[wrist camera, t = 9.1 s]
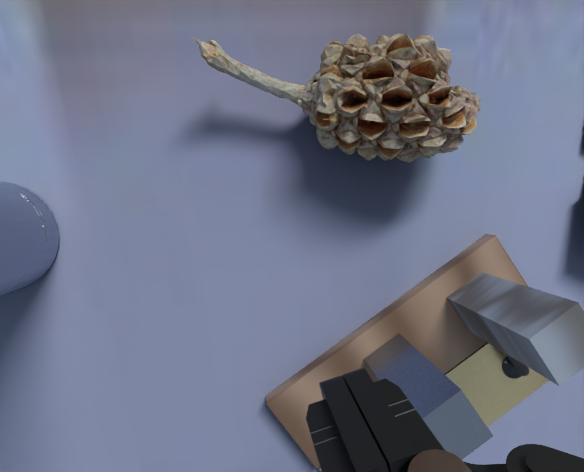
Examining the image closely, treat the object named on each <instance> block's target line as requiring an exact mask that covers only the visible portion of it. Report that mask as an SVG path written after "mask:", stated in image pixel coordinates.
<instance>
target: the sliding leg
mask: <svg viewBox="0 0 584 472" xmlns="http://www.w3.org/2000/svg"><path fill="white" fill-rule="evenodd" d="M364 360H365V361H366V363H367V364H368V366H369V367H370V368H371V370H372V371H373V373H374V374H375V376H376V377H377V378H378V380H382V379H385V378H386V379H387V380H389V381H391V382H392V383H394V384H396V385H398V386H399V387H400V389H401V390H402V391H403V393H404V394H405V396H406V397H407V399H408V400H409V401H410V402H411V404H412V405H413V407H414V408H415V410H416V411H417V412H418V414H419V415H420V416H421V418H422V419H423V420H424V422H425V423H426V425H427V426H428V427H429V429H430V430H431V432H432V433H433V434H434V436H435V437H436V439H437V440H438V441H439V443H440V444H441V445H442V447H443V448H444V449H445V450H446V451H448V452H451V453H453V454H454V455H456V456H458V457H459V458H460V459H461V460H462V459H463V458H465V457H466V456H467V455H469V454H470V453H471V452H473V451H474V450H475V449H477V448H478V447H479V446H481V445H482V444H483V443H485V442H486V441H487V440H489V439H490V438H491V437H493V435H492V433H491V432H490V430H489V429H488V428H487V426H486V425H485V423H484V422H483V420H482V419H481V417H480V416H479V415H478V413H477V412H476V410H475V409H474V407H473V406H472V404H471V403H470V402H469V400H468V399H467V397H466V396H465V394H464V393H463V391H462V390H461V389H460V388H459V387H458V386H457V385H456V384H454V383H453V382H452V381H451V380H450V379H449V378H448V377H447V376H446V375H445V374H444V373H442V372H441V371H440V370H439V369H438V368H437V367H436V366H435V365H434V364H433V363H431V362H430V361H429V360H428V359H427V358H426V357H425V356H424V355H423V354H422V353H420V352H419V351H418V350H417V349H416V348H415V347H414V346H413V345H412V344H411V343H409V342H408V341H407V340H406V339H405V338H404V337H403V336H402V335H401V334H400V333H398V334H397V335H396V336H394V337H393V338H392V339H390V340H389V341H388V342H386V343H385V344H384V345H382V346H381V347H379V348H378V349H377V350H375V351H374V352H373V353H371V354H370V355H369V356H367V357H366V358H365V359H364Z"/></svg>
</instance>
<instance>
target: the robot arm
mask: <svg viewBox="0 0 584 472" xmlns="http://www.w3.org/2000/svg"><path fill="white" fill-rule="evenodd" d="M58 244H59V234H58V228H57V224H56V221H55V219H54V217H53V214H52V213H51V211H50V210H49V208H48V207H47V205H46V204H45V203H44V202H43V201H42V200H41V199H40V198H39V197H38V196H37V195H35V194H34V193H32V192H30V191H29V190H27V189H25V188H23V187H20V186H17V185H15V184H9V183H3V182H0V296H2V295H4V294H7V293H10V292H12V291H15V290H17V289H20V288H23V287H25V286H27V285H29V284H32V283H34V282H35V281H36V280H38V279H39V278H40V277H42V276H43V275H44V274H45V273H46V272H47V270H48V269H49V268H50V267H51V265H52V263H53V261H54V259H55V257H56V254H57V250H58ZM319 385H320V389H321V393H322V397H323V400H321V401H318V402H315V403H312V404H309V406H308V411H307V415H306V421H307V424H308V428H309V431H310V435H311V438H312V442H313V445H314V449H315V452H316V456H317V459H318V462H319V466H320V469H321V472H584V459H583V458H580V457H577V456H574V455H571V454H568V453H565V452H562V451H559V450H556V449H553V448H550V447H546V446H543V445H537V444H526V445H521V446H518V447H516V448H514V449H513V450H512V451H511V452H510V453H509V454H508V456H507V459H506V464H490V465H476V464H470V463H466V462H463V461H462V460H461V459H460V458H459V457H458V456H456V455H454V454H453V453H451V452H448V451H446V450H445V449H444V448H443V447H442V445H441V444H440V443H439V441H438V440H437V439H436V437H435V436H434V434H433V433H432V432H431V430H430V429H429V427H428V426H427V425H426V423H425V422H424V420H423V419H422V418H421V416H420V415H419V414H418V412H417V411H416V410H415V408H414V407H413V405H412V404H411V402H410V401H409V400H408V399H407V397H406V396H405V394H404V393H403V391H402V390H401V389H400V387H399V386H398V385H396V384H394V383H392V382H391V381H389V380H387V379H386V378H385V379H382V380H379V381H376V382H373V381H372V379H371V377H370V376H369V374H368V373H367V371H366V370H365V368H361V369H358V370H355V371H352V372H349V373H346V374H343V375H342V376H338V377H335V378H332V379H329V380H326V381H323V382H320V383H319Z"/></svg>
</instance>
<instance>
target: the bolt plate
mask: <svg viewBox="0 0 584 472" xmlns="http://www.w3.org/2000/svg"><path fill="white" fill-rule="evenodd" d="M528 368H529V367H528ZM445 375H446V376H447V377H448V378H449V379H450V380H451V381H452V382H453V383H454V384H456V385H457V386H458V387H459V388H460V389H461V390H462V391H463V393H464V394H465V396H466V397H467V399H468V400H469V402H470V403H471V404H472V406H473V407H474V409H475V410H476V412H477V413H478V415H479V416H480V417H481V419H482V420H483V422H484V423H485V425H486V426H489V425H490V424H491V423H493V422H494V421H495V420H497V419H498V418H499V417H501V416H502V415H503V414H505V413H506V412H507V411H509V410H510V409H511V408H513V407H514V406H515V405H517V404H518V403H519V402H521V401H522V400H523V399H525V398H526V397H527V396H529V395H530V394H531V393H533V392H534V391H535V390H537V389H538V388H539V387H541V386H542V385H543V384H545V383H546V382H547V381H549V379H547V378H545V377H544V376H542V375H540V374H539V373H537V372H535V371H534V370H532V369H531V368H529V374H528V375H527V376H521V375H520V374H519V373H518V372H517V370H516V369H515V367H514V366H513V364H512V363H511V361H510V360H509V358H508V357H507V355H506V354H505V353H504V352H503V351H501V350H499V349H498V348H496V347H494V346H493V345H491V344H489V343H488V342H487V343H486V344H484V345H483V346H481V347H480V348H479V349H477V350H476V351H475V352H473V353H472V354H471V355H469V356H468V357H467V358H465V359H464V360H463V361H461V362H460V363H459V364H457V365H456V366H455V367H453V368H452V369H451V370H449V371H448V372H446V373H445ZM319 470H320V471H321V469H320V467H319Z"/></svg>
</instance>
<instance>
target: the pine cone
mask: <svg viewBox="0 0 584 472" xmlns="http://www.w3.org/2000/svg"><path fill="white" fill-rule="evenodd" d="M193 38H194V39H195V40H196V42H197V43H198V45H199V48H200V55H201V56H202V57H203V58H204V59H205V60H206V61H207V63H208V65H210V66H211V67H213V68H215V69H216V70H218V71H221V72H224V73H227V74H229V75H230V76H232V77H234V78H236V79H239V80H241V81H244V82H246V83H248V84H250V85H252V86H254V87H257V88H259V89H261V90H263V91H265V92H269V93H271V94H273V95H275V96H277V97H279V98H287V99H289V100H291V101H292V102H294V103H296V104H298V106H300V107H302V108H303V112H304V113H305V114H307V115H308V116H309V118H310V122H311V124H312V125H314V126H316V128H317V131H316V133H317V138H318V141H319V143H320V144H321V145H322V146H323V147H324V148H326V149H332V148H335V147H336V146H337V145H338V147H339V148H340V149H341V150H342V151H343V152H345V153H346V154H348V155H349V154H353V153H354V152H355V151H357V153H358V154H359V155H360V156H362V157H363V158H364V159H366V160H368V161H370V160H371V159H373V158H375V157H376V156H377V155H378V156H379V157H380V158H382V159H383V160H385V161H386V160H389V159H391V160H392V159H393V158H394V157H396V158H397V159H399V160H401V161H405V162H408V163H410V162H412V161H413V160H415V159H416V158H418V157H427V158H430V157H431V156H434V155H435V154H436V153H446V152H452V151H454V150H456V149H458V148H459V147H460V145H461V143H462V142H463V138H462V135H465V134H470V133H471V132H472V131H473V130H474V129H475V128H476V126H477V122H476V120H475V118H476V117H477V113H478V111H480V99H479V97H478V95H476V93H470V91H469V90H468V89H465V88H462V86H455V87H450V85H449V82H450V77H449V75H448V72H447V71H448V69H449V67H450V64H451V62H452V51H450V50H447V49H444V48H438V47H437V44H436V42H435V41H434V40H433V37H432V36H419V37H417V38H416V39H414V40H412V39H410V37H409V36H408V35H406V34H395V35H394V36H392V37H391V38H389V37H387V36H385V35H382V36H380V37H379V38H378V40H377V42H376V43H375V44H373V45H370V46H368V42H367V38H365V37H363V36H362V35H360V34H358V33H357V34H355V35H353V36H351V37H350V38H349V40H348V41H347V42H346V43H345V45H344V46H343V45H342V44H341V43H340V42H338V41H332V42H330V43H329V44H328V45H327V46H326V47H325V48H324V49H323V53H322V55H321V65H320V70H319V71H318V72H317V73H316V74H315V75H314V76H313V78H312V79H311V80H310V81H309V82H308V83H307V85H306V86H303V85H299V84H293V83H288V82H284V81H281V80H278V79H275V78H272V77H270V76H267V75H265V74H264V73H262V72H260V71H258V70H256V69H253V68H251V67H248V66H246V65H244V64H242V63H240V62H238V61H236V60H234V59H233V58H231V57H229V56H228V55H227V54H226V53H225V52H224V51H223V50H222V49H221V47H220V46H219V45H218V44H217V42H215V41H214V40H213V41H210V40H207V43H205V42H202V41H200V40H198V39H197V38H195V37H193Z"/></svg>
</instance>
